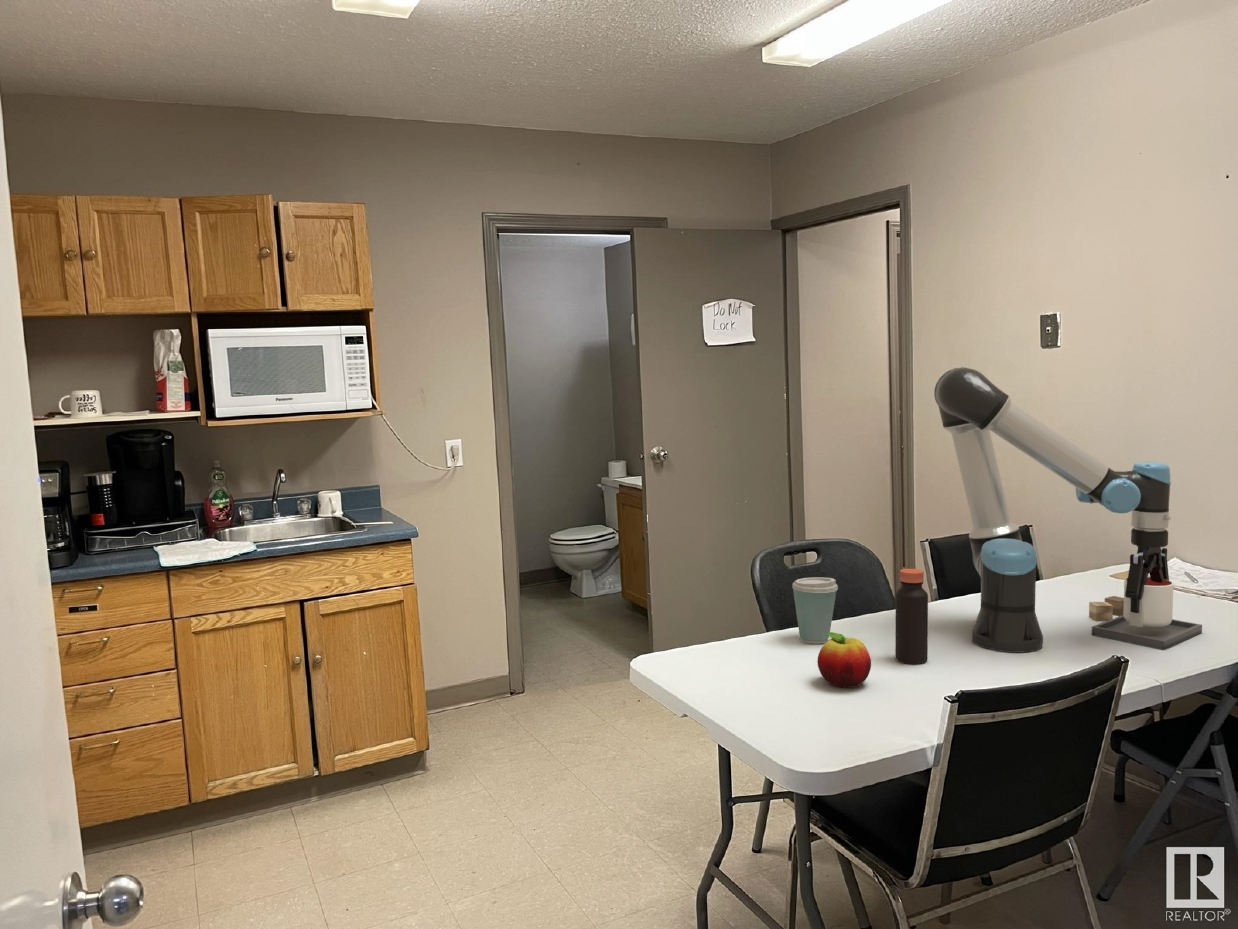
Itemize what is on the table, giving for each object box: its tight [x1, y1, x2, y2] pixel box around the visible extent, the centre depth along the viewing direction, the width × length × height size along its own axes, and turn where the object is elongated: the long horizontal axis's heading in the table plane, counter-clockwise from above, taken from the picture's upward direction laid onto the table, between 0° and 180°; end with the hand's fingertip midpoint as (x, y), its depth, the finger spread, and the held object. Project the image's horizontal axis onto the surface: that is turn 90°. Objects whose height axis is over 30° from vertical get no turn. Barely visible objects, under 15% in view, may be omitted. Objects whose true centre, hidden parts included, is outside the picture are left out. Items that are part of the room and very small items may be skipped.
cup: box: [1123, 576, 1174, 627], centre depth 217 cm, size 10×10×10 cm
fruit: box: [816, 631, 872, 689], centre depth 189 cm, size 11×11×10 cm
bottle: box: [894, 568, 929, 665], centre depth 202 cm, size 7×7×20 cm
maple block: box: [1088, 601, 1114, 622], centre depth 231 cm, size 4×4×4 cm
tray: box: [1091, 615, 1203, 651], centre depth 218 cm, size 20×16×2 cm
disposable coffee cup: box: [791, 576, 839, 645], centre depth 219 cm, size 11×11×15 cm
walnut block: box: [1104, 595, 1124, 617], centre depth 236 cm, size 4×4×4 cm
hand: (1146, 621), depth 218 cm, fingers closed on cup, 10 cm apart
